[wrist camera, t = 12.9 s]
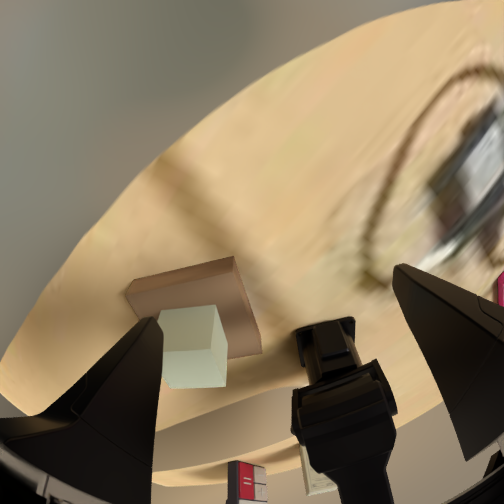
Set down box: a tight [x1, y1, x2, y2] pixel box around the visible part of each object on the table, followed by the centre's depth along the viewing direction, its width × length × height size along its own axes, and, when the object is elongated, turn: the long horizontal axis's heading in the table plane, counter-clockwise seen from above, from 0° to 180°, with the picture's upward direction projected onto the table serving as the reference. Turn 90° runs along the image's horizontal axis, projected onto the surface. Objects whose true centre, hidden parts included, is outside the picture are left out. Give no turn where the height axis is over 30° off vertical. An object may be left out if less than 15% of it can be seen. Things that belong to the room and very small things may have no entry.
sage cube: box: [157, 305, 228, 388], centre depth 22 cm, size 5×5×5 cm
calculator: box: [226, 461, 268, 504], centre depth 45 cm, size 11×4×15 cm, turn 40°
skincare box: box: [299, 445, 338, 496], centre depth 40 cm, size 6×4×12 cm
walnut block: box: [125, 256, 262, 359], centre depth 25 cm, size 10×10×3 cm
